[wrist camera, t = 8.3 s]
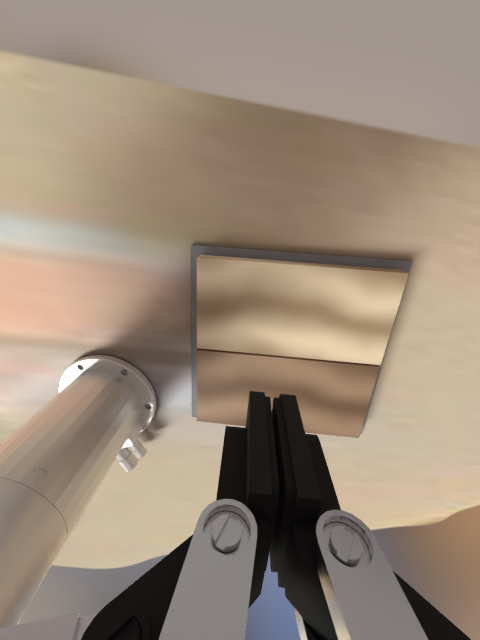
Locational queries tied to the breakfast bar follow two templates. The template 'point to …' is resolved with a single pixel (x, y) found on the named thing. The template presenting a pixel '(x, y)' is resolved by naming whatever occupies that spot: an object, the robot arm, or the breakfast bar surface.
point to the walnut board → (285, 389)
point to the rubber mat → (280, 256)
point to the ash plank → (296, 308)
